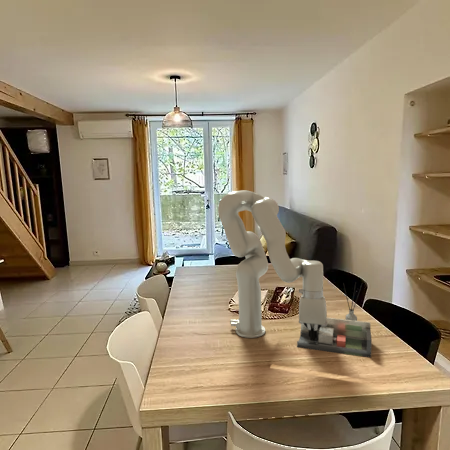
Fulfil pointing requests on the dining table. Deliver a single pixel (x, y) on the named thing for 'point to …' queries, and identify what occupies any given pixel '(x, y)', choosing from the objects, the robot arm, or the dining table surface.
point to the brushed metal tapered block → (326, 336)
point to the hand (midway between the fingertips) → (312, 338)
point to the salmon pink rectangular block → (341, 340)
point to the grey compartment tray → (353, 330)
